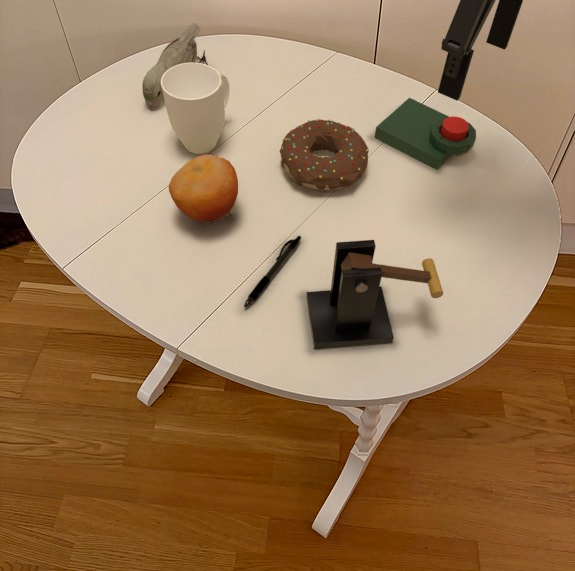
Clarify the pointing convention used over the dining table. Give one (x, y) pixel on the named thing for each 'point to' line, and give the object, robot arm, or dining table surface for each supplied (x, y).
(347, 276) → the switch bracket
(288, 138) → the donut
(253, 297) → the pen
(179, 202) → the fruit
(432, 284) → the lever
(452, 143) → the button block
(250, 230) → the dining table surface
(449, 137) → the button
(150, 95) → the decorative bird
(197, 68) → the mug
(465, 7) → the robot arm
